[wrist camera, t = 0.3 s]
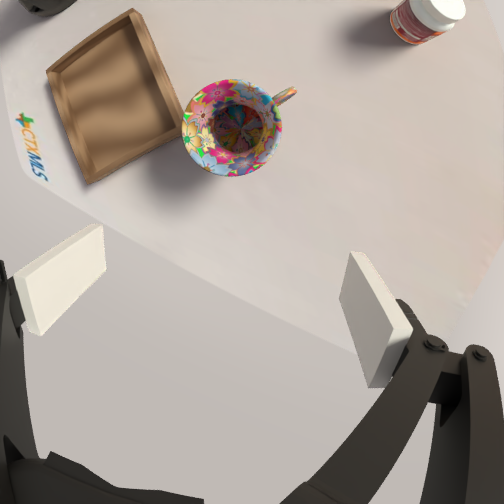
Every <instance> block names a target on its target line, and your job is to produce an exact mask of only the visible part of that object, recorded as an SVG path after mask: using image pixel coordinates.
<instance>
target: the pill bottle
mask: <svg viewBox="0 0 504 504" xmlns="http://www.w3.org/2000/svg"><path fill="white" fill-rule="evenodd" d="M464 15H465V6H464V3H463V1H462V0H403V1H402V2H401V3H400V4H399V5H398V6H397V7H396V8H395V9H394V10H393V11H392V12H391V15H390V23H391V26H392V28H393V30H394V32H395V33H396V34H397V35H398V36H399V37H400V38H401V39H403V40H404V41H406V42H408V43H411V44H422V43H424V42H426V41H428V40H431V39H433V38H434V37H437V36H439V35H440V34H443V33H444V32H446V31H448V30H450V29H451V28H453V26H454V25H455V22H457V21H458V20H460V19H462V18H463V17H464Z"/></svg>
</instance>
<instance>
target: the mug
mask: <svg viewBox="0 0 504 504" xmlns="http://www.w3.org/2000/svg"><path fill="white" fill-rule="evenodd" d="M296 93H297V90H296V89H295V87H290V88H288V89H286V90H284V91H282V92H281V93H279V94H277V95H276V96H274V97H273V98H271V97H270V96H269V95H268V94H267V93H266V92H265V91H264V90H263V89H261V88H260V87H258V86H256V85H255V84H252V83H250V82H247V81H243V80H235V79H230V80H222V81H218V82H215V83H212V84H210V85H208V86H206V87H205V88H203V89H202V90H200V91H199V92H198V93H197V94H196V95H195V96H194V97H193V98H192V100H191V101H190V102H189V104H188V106H187V108H186V110H185V112H184V115H183V119H182V138H183V142H184V145H185V148H186V150H187V152H188V153H189V155H190V156H191V158H192V159H193V160H194V161H195V162H196V163H197V164H198V165H199V166H201V167H202V168H203V169H205V170H207V171H209V172H211V173H214V174H217V175H221V176H241V175H245V174H248V173H251V172H253V171H255V170H257V169H258V168H260V167H261V166H263V165H264V164H265V163H266V162H267V161H268V160H269V159H270V158H271V157H272V155H273V154H274V152H275V151H276V149H277V147H278V144H279V141H280V138H281V131H282V123H281V117H280V113H279V110H278V108H277V107H278V106H279V105H281V104H282V103H284V102H285V101H287V100H288V99H289V98H291V97H292V96H293V95H295V94H296Z"/></svg>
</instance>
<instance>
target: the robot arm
mask: <svg viewBox="0 0 504 504" xmlns="http://www.w3.org/2000/svg"><path fill="white" fill-rule="evenodd" d="M18 1H19V2H20V3H21V4H22V5H23V6H24V7H25V8H26V9H27V10H28V11H29V12H30V13H32V14H35V15H38V16H42V17H46V16H51V15H54V14H57V13H59V12H61V11H62V10H64V9H66V8H67V7H69V6H70V5H71V4H72V3H74V2H75V1H76V0H18ZM106 270H107V269H106V260H105V249H104V237H103V225H100V224H90V225H88V226H87V227H85V228H83V229H82V230H80V231H78V232H77V233H75V234H74V235H72V236H70V237H69V238H67V239H66V240H64V241H62V242H61V243H59V244H58V245H56V246H55V247H53V248H52V249H50V250H48V251H47V252H46V253H44V254H42V255H41V256H40V257H38V258H37V259H35V260H34V261H33V262H31V263H29V264H28V265H26V266H25V267H24V268H22V269H21V270H19V271H18V272H16V273H15V274H14V275H13V276H12V277H11V278H9V279H7V275H6V271H5V267H4V262H3V261H2V260H0V504H204V499H201V498H195V497H189V496H184V495H179V494H174V493H170V492H166V491H162V490H142V489H128V488H118V487H115V486H113V485H111V484H110V483H108V482H106V481H105V480H103V479H102V478H100V477H99V476H97V475H96V474H94V473H93V472H91V471H90V470H89V469H87V468H86V467H84V466H83V465H81V464H79V463H76V462H74V461H71V460H69V459H67V458H65V457H62V456H60V455H58V454H56V453H54V452H52V451H50V453H49V455H48V457H47V459H40V458H39V456H38V453H37V450H36V445H35V440H34V436H33V430H32V424H31V419H30V412H29V405H28V397H27V390H26V379H25V366H24V346H23V330H22V328H21V324H22V323H23V322H24V321H26V324H27V327H28V330H29V332H30V333H33V334H36V335H39V336H42V335H43V334H44V333H45V332H46V331H47V329H48V328H49V327H50V326H51V325H52V324H53V323H54V322H55V321H56V320H57V319H58V318H59V317H60V316H61V315H62V314H63V313H64V312H65V311H66V310H67V309H68V308H69V307H70V306H71V305H72V304H73V303H74V302H75V301H76V299H77V298H78V297H80V296H81V295H82V294H83V293H84V292H85V291H86V290H87V289H88V288H89V287H90V286H91V285H92V284H93V283H94V282H95V281H96V280H97V279H98V278H99V277H100V276H101V275H102V274H103V273H104V272H105V271H106ZM339 300H340V303H341V306H342V309H343V312H344V314H345V317H346V320H347V323H348V326H349V329H350V332H351V335H352V338H353V341H354V344H355V347H356V350H357V353H358V356H359V360H360V363H361V366H362V369H363V372H364V376H365V379H366V382H367V386H368V388H385V389H384V391H383V392H382V394H381V395H380V396H379V398H378V399H377V401H376V402H375V403H374V405H373V406H372V407H371V409H370V410H369V411H368V413H367V414H366V415H365V417H364V418H363V419H362V420H361V422H360V423H359V424H358V425H357V427H356V428H355V429H354V430H353V432H352V433H351V434H350V435H349V436H348V438H347V439H346V440H345V441H344V442H343V444H342V445H341V446H340V447H339V448H338V449H337V451H336V452H335V453H334V454H333V455H332V456H331V457H330V458H329V460H328V461H327V462H326V463H325V464H324V465H323V466H322V467H321V468H320V469H319V470H318V471H317V472H316V474H314V476H312V477H311V478H310V479H309V480H308V481H307V482H303V483H302V484H301V485H299V486H298V487H297V488H296V489H295V490H294V491H293V492H292V493H291V494H290V495H288V496H287V497H286V498H285V499H284V500H283V501H282V502H281V503H280V504H368V503H369V502H370V500H371V499H372V497H373V496H374V495H375V493H376V492H377V490H378V489H379V487H380V486H381V485H382V483H383V482H384V480H385V478H386V477H387V475H388V474H389V472H390V471H391V469H392V468H393V466H394V464H395V463H396V461H397V459H398V458H399V456H400V454H401V453H402V451H403V449H404V447H405V446H406V444H407V442H408V440H409V438H410V437H411V435H412V433H413V431H414V429H415V427H416V425H417V423H418V421H419V419H420V417H421V415H422V413H423V411H424V409H425V407H426V405H427V403H428V402H430V403H435V404H436V413H435V422H434V431H433V438H432V445H431V451H430V457H429V463H428V468H427V474H426V478H425V483H424V488H423V492H422V496H421V500H420V504H504V418H503V408H502V401H501V394H500V388H499V382H498V377H497V371H496V366H495V362H494V358H493V356H492V354H491V353H490V352H489V350H487V349H485V347H483V346H479V345H474V344H473V345H469V346H468V347H467V348H466V350H465V352H464V354H458V353H453V352H449V351H448V349H449V348H448V346H447V344H446V343H445V342H444V341H443V340H441V339H440V338H438V337H436V336H433V335H428V334H427V333H426V331H425V329H424V328H423V326H422V325H421V323H420V322H419V320H417V317H416V316H415V314H413V311H412V310H411V308H410V307H409V305H407V304H406V303H405V302H404V301H402V300H401V299H394V297H393V295H392V294H391V292H390V291H389V289H388V288H387V286H386V285H385V283H384V282H383V280H382V279H381V277H380V276H379V274H378V273H377V271H376V270H375V268H374V267H373V265H372V264H371V262H370V261H369V259H368V258H367V256H366V255H365V254H364V253H360V252H352V251H350V254H349V259H348V263H347V268H346V272H345V276H344V281H343V285H342V289H341V293H340V297H339ZM391 377H393V378H392V379H391ZM390 379H391V381H390ZM389 381H390V382H389ZM388 383H389V384H388Z"/></svg>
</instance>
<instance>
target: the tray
mask: <svg viewBox="0 0 504 504" xmlns="http://www.w3.org/2000/svg"><path fill="white" fill-rule="evenodd" d="M46 74H47V77H48V80H49V84H50V87H51V90H52V93H53V96H54V99H55V102H56V105H57V108H58V111H59V114H60V117H61V120H62V123H63V125H64V128H65V131H66V133H67V136H68V139H69V141H70V144H71V146H72V149H73V151H74V154H75V156H76V159H77V161H78V164H79V166H80V169H81V171H82V173H83V176H84V178H85V180H86V182H87V185H88V184H91V183H94V182H96V181H99V180H101V179H102V178H104V177H105V176H107V175H109V174H110V173H112V172H114V171H116V170H117V169H119V168H121V167H122V166H124V165H126V164H128V163H129V162H131V161H133V160H135V159H137V158H138V157H140V156H142V155H144V154H146V153H148V152H149V151H151V150H153V149H155V148H157V147H159V146H161V145H163V144H165V143H167V142H169V141H171V140H173V139H175V138H177V137H179V136H181V135H182V119H183V115H184V112H183V110H182V107H181V105H180V103H179V100H178V98H177V96H176V93H175V91H174V89H173V87H172V84H171V82H170V80H169V77H168V75H167V73H166V70H165V68H164V66H163V63H162V61H161V59H160V57H159V54H158V52H157V50H156V47H155V45H154V43H153V40H152V38H151V36H150V33H149V31H148V29H147V26H146V24H145V22H144V19H143V17H142V15H141V14H140V13H139V12H137V11H136V10H135V9H134V8H131V9H130V10H128V11H126V12H125V13H123V14H121V15H120V16H118V17H116V18H115V19H113V20H112V21H110V22H109V23H107V24H106V25H104V26H103V27H101V28H100V29H98V30H97V31H95V32H94V33H93V34H91V35H90V36H88V37H87V38H86V39H84V40H83V41H81V42H80V43H79V44H78V45H76V46H75V47H74V48H72V49H71V50H70V51H68V52H67V53H66V54H65V55H63V56H62V57H61V58H60V59H59V60H57V61H56V62H55V63H54V64H53V65H52V66H50V67H49V68H48V69H47V70H46Z"/></svg>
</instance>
